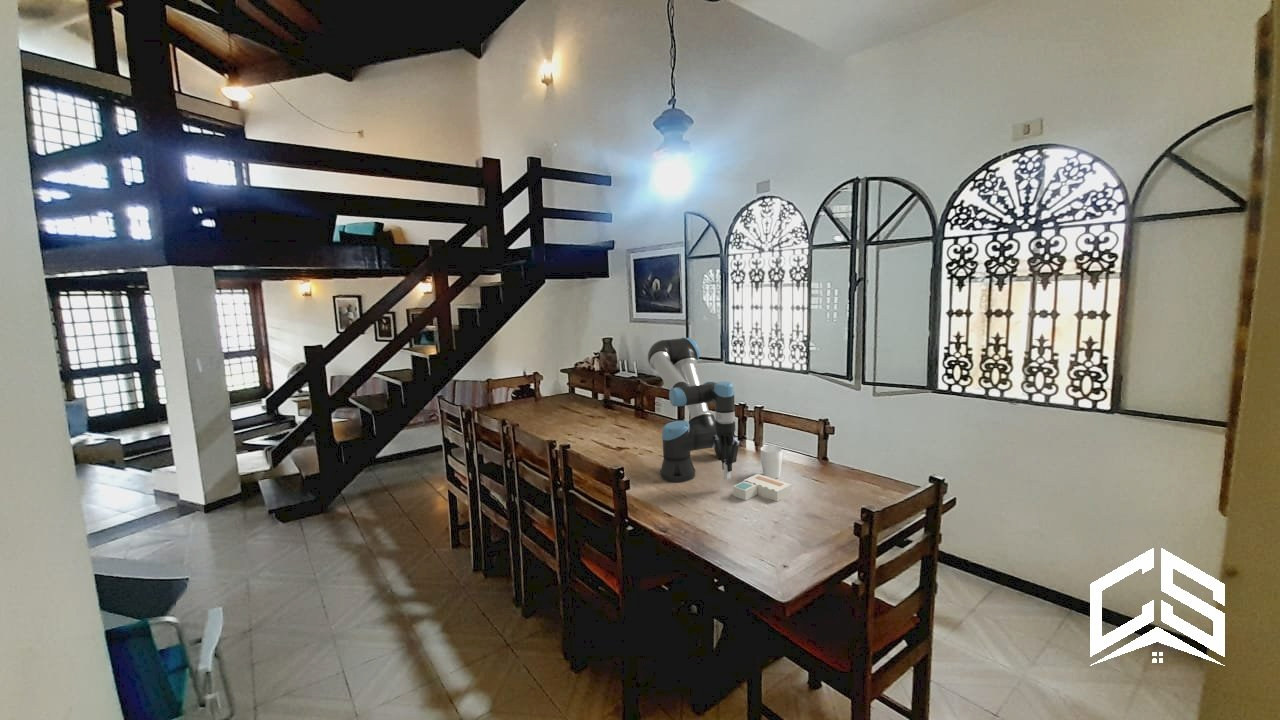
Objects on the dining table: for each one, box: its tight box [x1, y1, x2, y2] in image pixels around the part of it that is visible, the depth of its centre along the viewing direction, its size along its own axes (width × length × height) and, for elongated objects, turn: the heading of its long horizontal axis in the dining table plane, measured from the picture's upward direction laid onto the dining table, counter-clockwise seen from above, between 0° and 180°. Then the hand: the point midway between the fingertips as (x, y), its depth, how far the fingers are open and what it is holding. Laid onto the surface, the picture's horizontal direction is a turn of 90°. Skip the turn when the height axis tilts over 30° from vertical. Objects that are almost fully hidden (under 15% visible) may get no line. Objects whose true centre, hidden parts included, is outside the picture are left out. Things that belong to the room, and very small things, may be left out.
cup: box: [759, 445, 783, 480], centre depth 220 cm, size 9×9×12 cm
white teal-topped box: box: [732, 481, 758, 501], centre depth 204 cm, size 6×7×4 cm
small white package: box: [742, 473, 792, 502], centre depth 206 cm, size 16×9×4 cm, turn 40°
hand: (727, 478), depth 210 cm, fingers closed
